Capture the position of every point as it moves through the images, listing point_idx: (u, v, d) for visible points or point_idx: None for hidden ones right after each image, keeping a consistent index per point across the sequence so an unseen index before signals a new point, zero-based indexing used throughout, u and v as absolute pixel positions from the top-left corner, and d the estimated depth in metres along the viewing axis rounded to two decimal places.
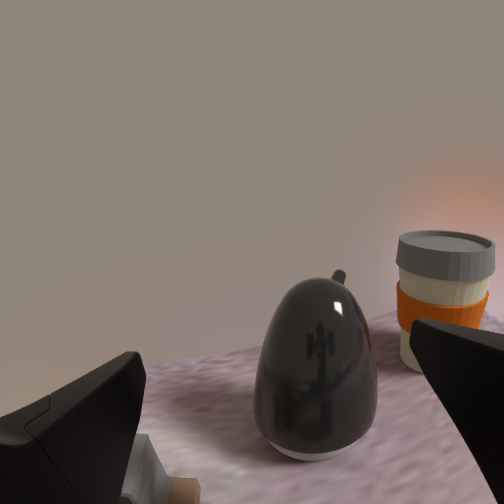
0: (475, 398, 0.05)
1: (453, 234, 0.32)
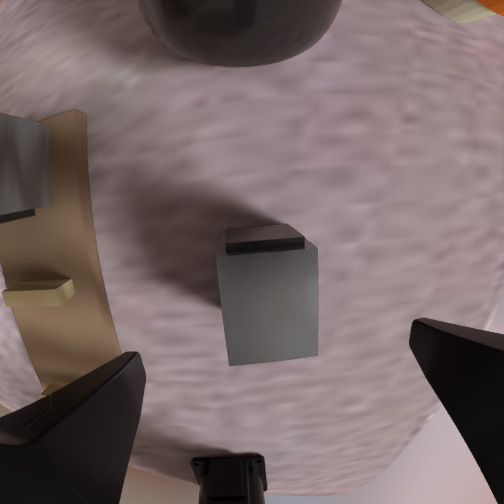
0: (475, 398, 0.05)
1: None
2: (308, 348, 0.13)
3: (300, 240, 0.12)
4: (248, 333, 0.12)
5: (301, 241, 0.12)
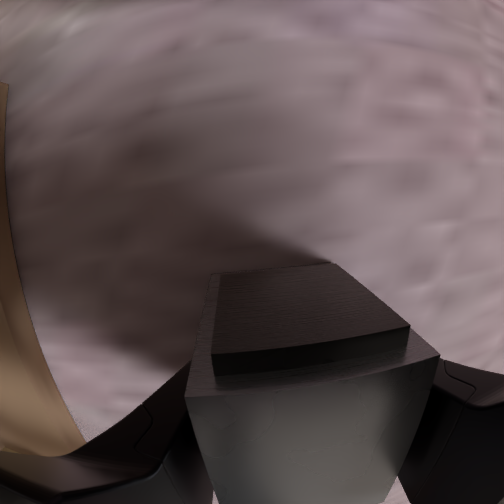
0: None
1: None
2: (372, 499, 0.05)
3: (400, 334, 0.04)
4: (265, 503, 0.05)
5: (402, 336, 0.04)
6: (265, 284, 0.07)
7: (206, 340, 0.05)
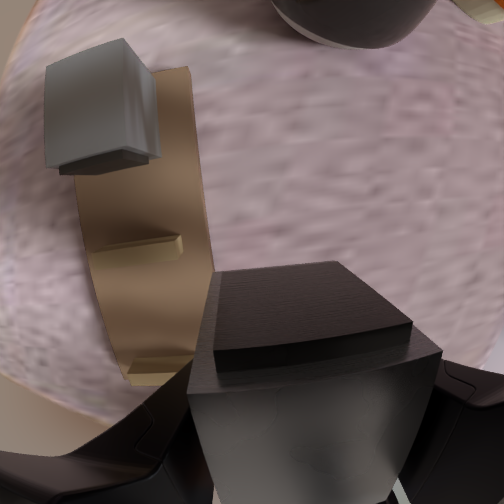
0: None
1: None
2: (374, 497, 0.05)
3: (402, 330, 0.04)
4: (267, 502, 0.05)
5: (404, 333, 0.04)
6: (267, 281, 0.07)
7: (208, 337, 0.05)
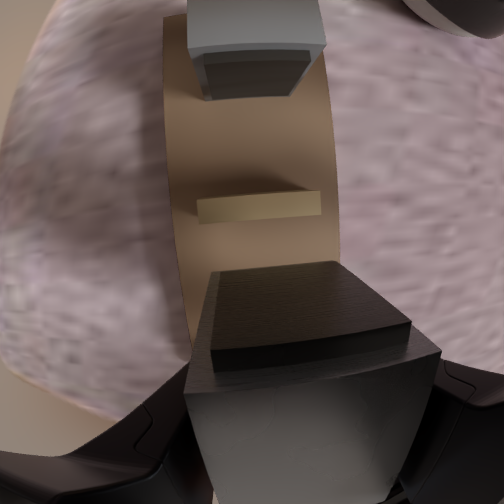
0: None
1: None
2: (373, 498, 0.05)
3: (401, 330, 0.04)
4: (266, 502, 0.04)
5: (403, 332, 0.04)
6: (265, 281, 0.07)
7: (206, 337, 0.05)
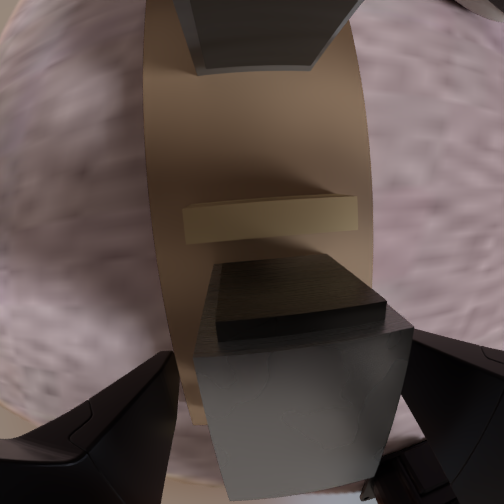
0: (445, 412, 0.05)
1: None
2: (362, 472, 0.06)
3: (378, 309, 0.05)
4: (262, 469, 0.05)
5: (379, 310, 0.05)
6: (262, 270, 0.08)
7: (210, 315, 0.06)
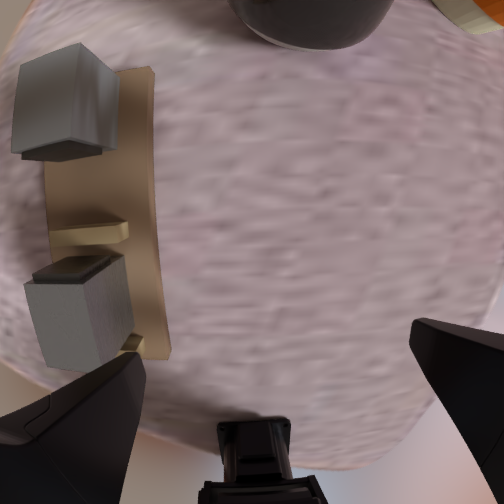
0: (475, 398, 0.05)
1: None
2: (95, 366, 0.13)
3: (77, 276, 0.13)
4: (51, 344, 0.13)
5: (77, 277, 0.13)
6: (72, 260, 0.15)
7: None
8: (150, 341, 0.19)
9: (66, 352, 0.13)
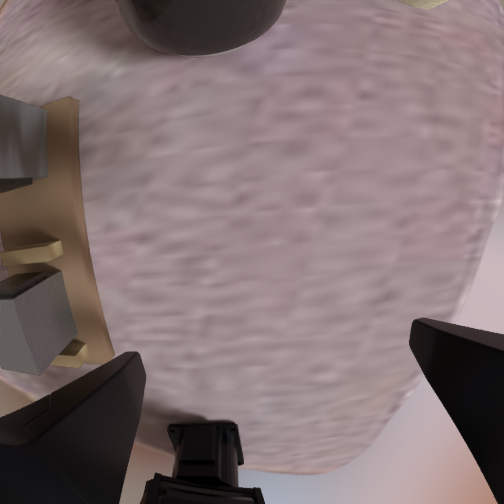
0: (475, 398, 0.05)
1: None
2: (32, 368, 0.13)
3: (11, 292, 0.13)
4: (1, 349, 0.13)
5: (11, 293, 0.13)
6: (16, 277, 0.15)
7: None
8: (92, 347, 0.20)
9: (11, 356, 0.13)
